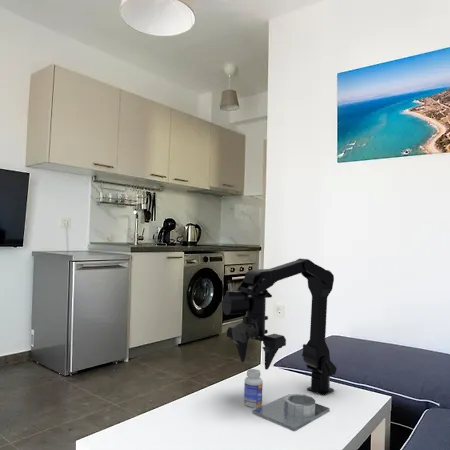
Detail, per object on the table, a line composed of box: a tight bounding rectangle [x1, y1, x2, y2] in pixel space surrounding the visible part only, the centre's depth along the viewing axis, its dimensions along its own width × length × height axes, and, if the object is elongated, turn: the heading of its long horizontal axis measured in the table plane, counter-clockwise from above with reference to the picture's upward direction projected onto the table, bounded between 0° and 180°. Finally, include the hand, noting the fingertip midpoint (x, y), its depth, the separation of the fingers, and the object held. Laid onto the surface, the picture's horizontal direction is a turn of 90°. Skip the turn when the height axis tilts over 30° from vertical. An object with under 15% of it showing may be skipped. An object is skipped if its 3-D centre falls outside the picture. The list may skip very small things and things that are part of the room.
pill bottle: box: [243, 368, 264, 408], centre depth 117 cm, size 5×5×10 cm
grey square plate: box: [252, 393, 331, 432], centre depth 112 cm, size 18×14×4 cm
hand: (254, 365), depth 118 cm, fingers open, 9 cm apart
